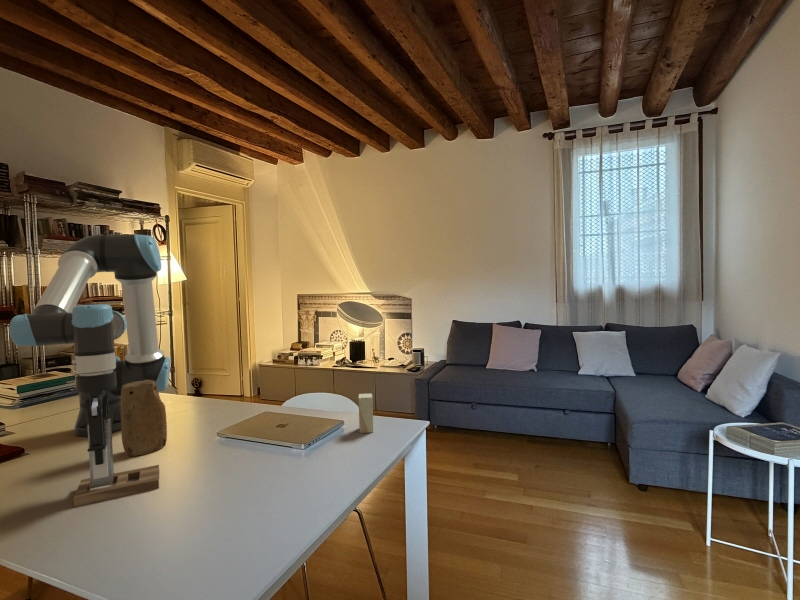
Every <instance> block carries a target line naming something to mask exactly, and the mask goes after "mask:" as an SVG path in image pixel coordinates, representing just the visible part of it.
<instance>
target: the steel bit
mask: <svg viewBox="0 0 800 600" xmlns="http://www.w3.org/2000/svg"><path fill="white" fill-rule="evenodd" d="M87 428H88V436H87V439H88V440H87V442H88V443H87V444H88V449H89V448H90V437H89V424H88V426H87ZM105 445H106V447H107V462H108V477H103V478H98V479H93V464H92V451H90V452H88V457H89V458H88V459H89V473H90V474H89V476H90V477H89V478H91V488H94V487H99V486H104V485H109V484H112V483H113V479H114V473H115V471H114V454H113V453H114V451H113V432H111V419H106V420H105Z"/></svg>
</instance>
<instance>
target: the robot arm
mask: <svg viewBox="0 0 800 600" xmlns="http://www.w3.org/2000/svg"><path fill="white" fill-rule="evenodd" d="M161 260H162V259H161V253H160V250H159V247H158V243H157V241H156V240H155V238H154V237H153V236H151V235H147V234H138V233H137V234H135V233H134V234H103V233H102V234H93V235H92V234H91V235H90V236H86V237H82V238H81V239H79V240H77V241H75V242H74V243H72V244H71V245H70V246H68V247H67V248H66V249H64V250H63V252H62V253H61V255H60V256H59V258H58V260H57V265H58V268H57V270H56V271H55V273H54V275H53V276H52V278H51V279H50V281H49V283H48V285H47V286H46V287H45V288H46V289H45V290H44V292H43V293H42V295H41V296H40V298H39V299H38V302H37V303H36V305H35V307H34V308H33V309H32V311H31V313H24V314H18V315H15V316H14V317H12V319H11V320H10V322H9V331H8V333H9V337H10V339H11V341H12V343H13V344H14V345H16V346H18V347H41V346H42V347H43V346H44V347H45V346H56V345H68V344H70V345H72V344H73V347H74V359H72V360H71V364H73V365H75V373H76V374H77V375H76V376H75V381H76V382H75V383H76V385H75V387H76V391H77V392H78V398H79V400H78V401H79V411H78V415H77V418H76V421H75V423H74V435H75V436H79V437H88V428H87V426H88V424H89V437H90V448H89V447H88V449H87V452H88V453H89V452H90V451H92V464H93V479H98V478H103V477H108V462H107V447H106V445H105V420H106V419H111V432H112V433H114V432H118V431H122V430H121V388H122V386H123V385H124V384H127V383H132V382H136V381H144V380H153V381H155V382H156V385H157V389H158V392H159V393H160V392H164V391H165V390H167V387H168V385H169V384H168V383H169V379H170V372H171V371H170V370H171V358H170V357H168V356H165V352H164V350H162V349H161V348H159V339H158V330H157V319H156V310H155V309H156V308H155V298H154V288H153V280H154V279H156V277H157V275H158V274H157V273H158V272H160V271H161V270H162V261H161ZM96 273H114V279H115V280H116V281H118V282H119V283H120V285H121V292H122V293H121V294H122V300H123V309H124V314H122V313H120V312H118V311H116V310H113V306H111V305H110V304H106V303H102V304H100V303H97V304H81V305H78V303H79V300H80V298H81V296H82V294H83V292H84V290H85V287H86V285H87V283H88V281H89V279H92V278H93V277H94V276H95V275H96ZM125 332H126V334H127V342H128V343H127V344H128V353H127V354H126V355H125V356H124V360H121V358H120V357H119V356H116V351H115V340H117V339H118V338H120V337H122V335H123V334H124V333H125Z"/></svg>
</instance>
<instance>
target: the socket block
mask: <svg viewBox="0 0 800 600" xmlns="http://www.w3.org/2000/svg"><path fill="white" fill-rule="evenodd" d="M159 488H160V465H159V464H156V465H150V466H145V467H139V468H135V469H131V470H129V469H128V470H124V471H120V472H114V479H113V483H112V484H109V485H104V486H99V487H94V488H91V478H90V477H89V478H83V479H81V480H80V482H79V484H78V486H77V489H76V491H75V493H74V496H73V506H74V507H73V508H75V507H79V506H83V505H89V504H92V503H97V502H101V501H106V500H110V499H115V498H120V497H124V496H130V495H134V494H138V493H142V492H148V491H152V490H157V489H159Z"/></svg>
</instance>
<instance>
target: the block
mask: <svg viewBox="0 0 800 600" xmlns="http://www.w3.org/2000/svg"><path fill="white" fill-rule="evenodd" d="M166 411H167V410H166V405H165V403H164V402H163V401H162V400H161V397H160V392H158V389H157V385H156V382H155V381H153V380H144V381H136V382H132V383H127V384H124V385H123V386H122V388H121V430H120V431H121V441H122V447H123V450H124V453H125V454H126V455H127V456H129V457H131V456H137V457H138V456H143V455H148V454H150V453H152V452H156V451H158V450H162V449H163V448H164V447H165V446H166V444H167V441H168V425H167V412H166Z"/></svg>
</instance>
